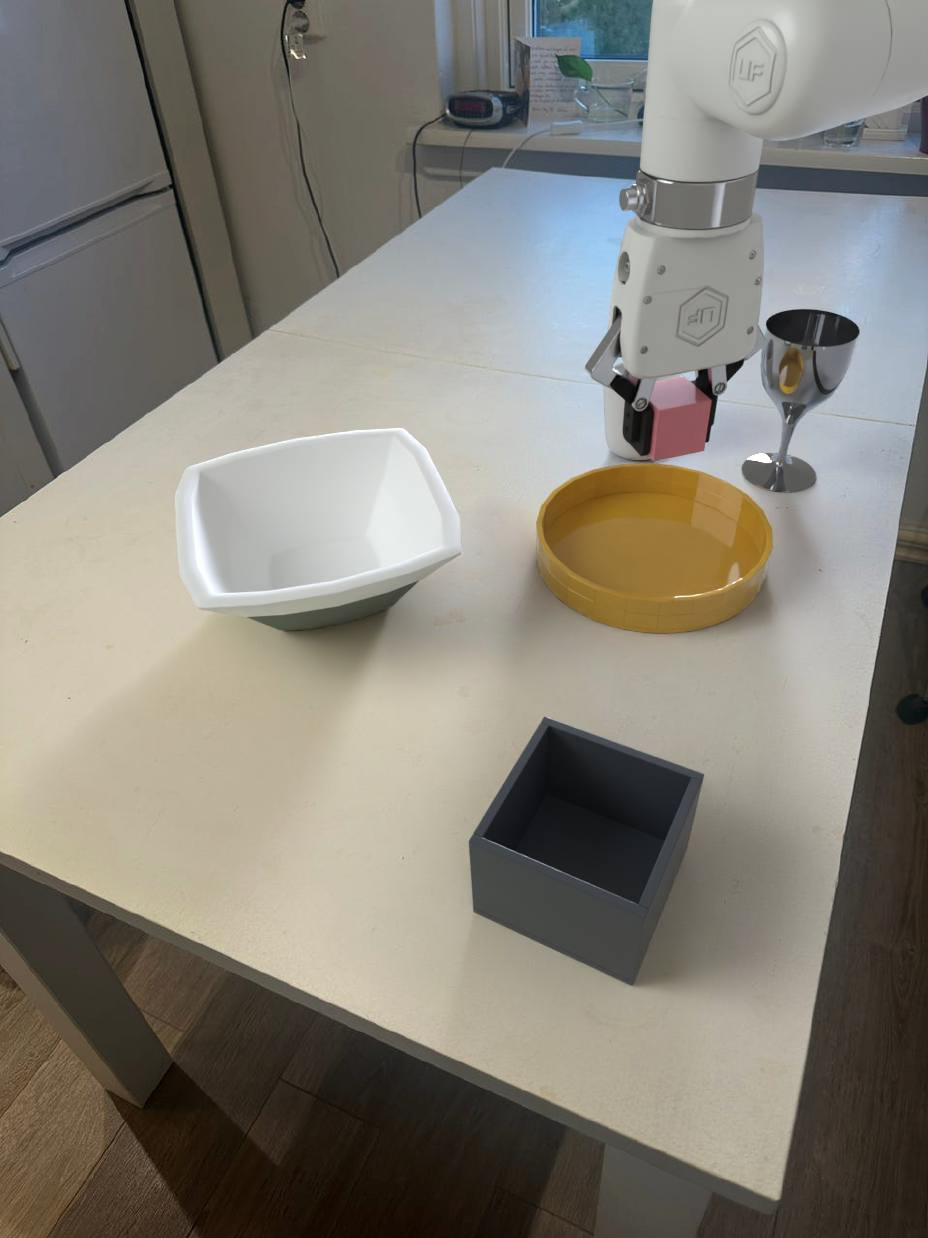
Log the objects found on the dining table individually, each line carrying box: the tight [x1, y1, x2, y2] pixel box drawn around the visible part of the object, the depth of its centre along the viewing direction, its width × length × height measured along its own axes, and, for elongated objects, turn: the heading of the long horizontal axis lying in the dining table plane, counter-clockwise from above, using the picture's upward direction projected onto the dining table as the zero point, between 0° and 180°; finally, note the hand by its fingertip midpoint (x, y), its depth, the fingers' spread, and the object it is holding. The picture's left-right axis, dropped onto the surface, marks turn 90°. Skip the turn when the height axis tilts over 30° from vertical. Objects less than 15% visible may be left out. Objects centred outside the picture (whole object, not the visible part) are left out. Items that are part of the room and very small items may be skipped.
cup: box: [602, 362, 684, 461], centre depth 90 cm, size 11×8×8 cm
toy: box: [648, 375, 711, 462], centre depth 68 cm, size 4×4×4 cm
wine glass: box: [740, 308, 861, 493], centre depth 82 cm, size 8×8×15 cm
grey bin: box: [468, 716, 705, 987], centre depth 52 cm, size 10×10×8 cm
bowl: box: [174, 427, 462, 631], centre depth 74 cm, size 22×23×8 cm
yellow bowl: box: [535, 462, 774, 634], centre depth 77 cm, size 20×20×4 cm
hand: (666, 439), depth 70 cm, fingers closed on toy, 4 cm apart
